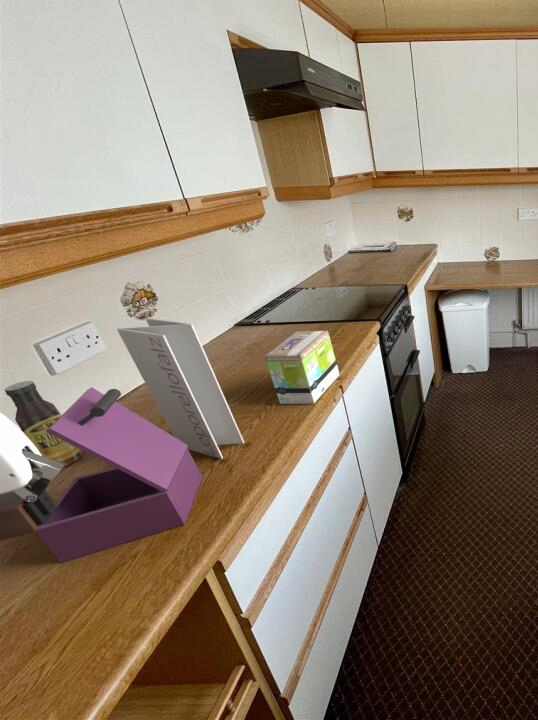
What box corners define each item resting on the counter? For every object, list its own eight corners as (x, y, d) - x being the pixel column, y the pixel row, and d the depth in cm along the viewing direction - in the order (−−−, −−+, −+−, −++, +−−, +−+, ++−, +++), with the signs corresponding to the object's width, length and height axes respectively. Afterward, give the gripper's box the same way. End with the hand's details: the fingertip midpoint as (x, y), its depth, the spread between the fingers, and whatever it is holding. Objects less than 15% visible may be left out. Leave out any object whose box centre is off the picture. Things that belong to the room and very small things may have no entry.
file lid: (45, 431, 60) (74, 410, 60) (87, 389, 71) (112, 371, 71) (163, 492, 70) (188, 473, 70) (184, 447, 80) (206, 431, 81)
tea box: (316, 404, 106) (300, 354, 100) (279, 405, 107) (261, 355, 100) (341, 374, 120) (328, 329, 113) (308, 375, 120) (293, 330, 114)
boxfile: (60, 563, 68) (33, 530, 64) (96, 507, 78) (75, 477, 75) (184, 524, 73) (166, 492, 70) (202, 477, 84) (187, 448, 81)
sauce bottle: (56, 474, 88) (0, 397, 79) (40, 468, 90) (-16, 392, 81) (92, 454, 93) (44, 380, 85) (77, 448, 95) (28, 376, 87)
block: (-7, 543, 54) (-28, 519, 52) (14, 518, 58) (-5, 495, 56) (36, 530, 56) (17, 507, 54) (54, 507, 59) (37, 485, 57)
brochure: (179, 446, 94) (116, 328, 81) (202, 431, 98) (146, 318, 85) (222, 458, 89) (162, 335, 76) (244, 442, 94) (192, 323, 81)
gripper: (-202, 458, 43) (-83, 571, 51) (10, 414, 48) (87, 522, 56) (-134, 419, 49) (-38, 524, 57) (46, 384, 55) (111, 485, 63)
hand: (23, 522), depth 57 cm, fingers closed on block, 4 cm apart
